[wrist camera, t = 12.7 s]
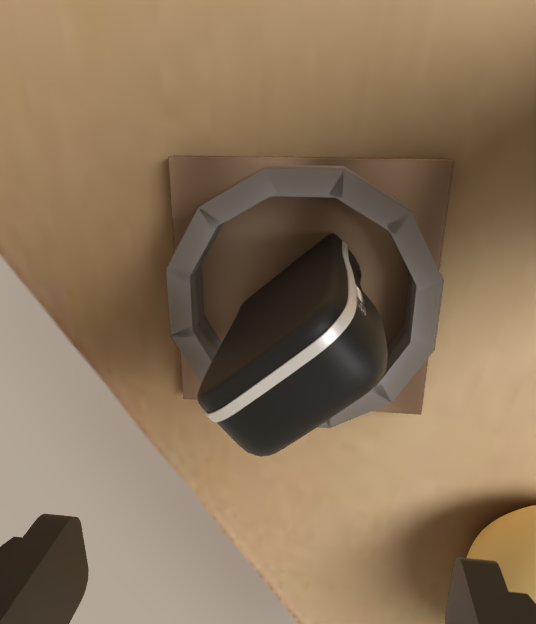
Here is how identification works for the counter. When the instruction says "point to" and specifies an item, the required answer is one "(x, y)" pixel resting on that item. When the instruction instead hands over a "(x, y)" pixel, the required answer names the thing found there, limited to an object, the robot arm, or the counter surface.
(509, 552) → the sculpture
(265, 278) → the ring collar
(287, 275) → the battery charger
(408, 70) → the counter surface
